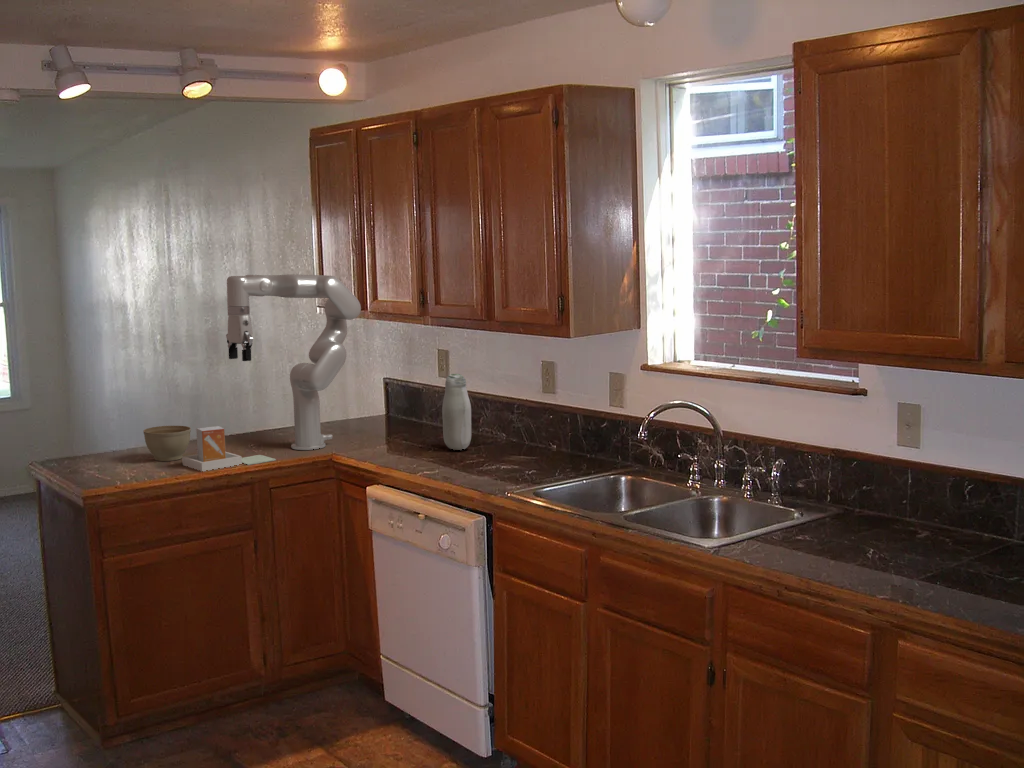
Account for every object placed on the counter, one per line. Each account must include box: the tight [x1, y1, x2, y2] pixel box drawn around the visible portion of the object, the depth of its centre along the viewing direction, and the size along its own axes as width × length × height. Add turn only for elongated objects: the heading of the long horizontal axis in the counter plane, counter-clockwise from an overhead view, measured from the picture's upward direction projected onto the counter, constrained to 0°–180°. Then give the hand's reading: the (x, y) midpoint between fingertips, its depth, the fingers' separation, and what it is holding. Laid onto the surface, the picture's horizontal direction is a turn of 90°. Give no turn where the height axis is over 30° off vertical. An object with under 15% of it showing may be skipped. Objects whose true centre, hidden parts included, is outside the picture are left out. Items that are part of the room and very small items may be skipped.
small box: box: [195, 425, 226, 462], centre depth 374 cm, size 8×6×13 cm
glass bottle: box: [441, 373, 472, 451], centre depth 391 cm, size 10×10×28 cm
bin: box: [181, 451, 243, 472], centre depth 374 cm, size 15×15×3 cm
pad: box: [241, 454, 277, 466], centre depth 381 cm, size 11×11×1 cm
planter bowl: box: [143, 425, 192, 462], centre depth 385 cm, size 16×16×11 cm
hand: (240, 359), depth 380 cm, fingers open, 9 cm apart
